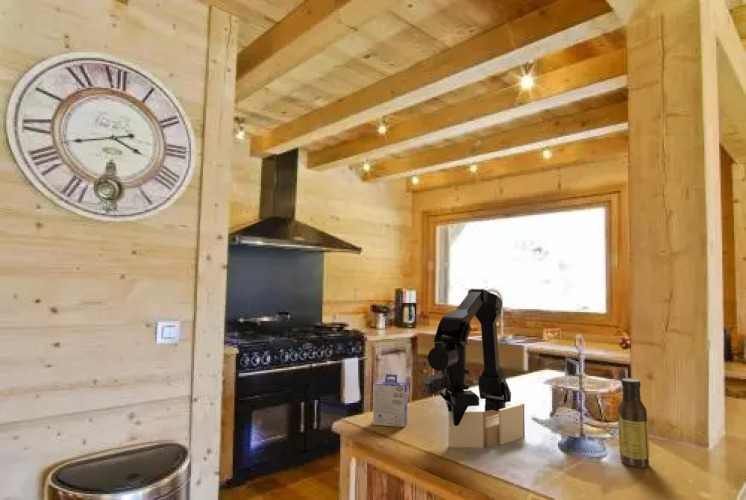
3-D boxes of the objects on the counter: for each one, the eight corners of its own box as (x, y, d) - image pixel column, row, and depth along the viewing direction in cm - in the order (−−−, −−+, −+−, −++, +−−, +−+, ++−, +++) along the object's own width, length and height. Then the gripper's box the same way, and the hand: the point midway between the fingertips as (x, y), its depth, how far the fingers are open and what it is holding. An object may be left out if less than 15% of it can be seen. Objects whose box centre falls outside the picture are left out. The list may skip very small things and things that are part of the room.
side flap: (522, 435, 128) (521, 403, 129) (525, 436, 128) (525, 404, 128) (498, 443, 122) (498, 409, 122) (501, 444, 121) (501, 410, 122)
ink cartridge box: (407, 422, 140) (408, 374, 141) (405, 427, 134) (405, 378, 135) (376, 420, 142) (376, 372, 143) (372, 425, 136) (373, 376, 137)
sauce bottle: (630, 456, 114) (628, 375, 115) (655, 466, 108) (652, 380, 109) (613, 460, 111) (611, 378, 112) (638, 470, 105) (635, 383, 107)
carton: (491, 426, 136) (491, 408, 137) (520, 435, 128) (520, 416, 129) (458, 436, 127) (458, 417, 128) (487, 446, 119) (487, 426, 120)
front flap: (448, 445, 120) (448, 411, 120) (485, 446, 120) (485, 411, 120) (448, 447, 119) (448, 412, 119) (486, 447, 119) (486, 412, 119)
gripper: (415, 357, 127) (415, 414, 127) (436, 372, 109) (436, 438, 108) (453, 357, 129) (453, 412, 129) (480, 371, 111) (480, 436, 110)
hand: (454, 424), depth 119 cm, fingers closed
